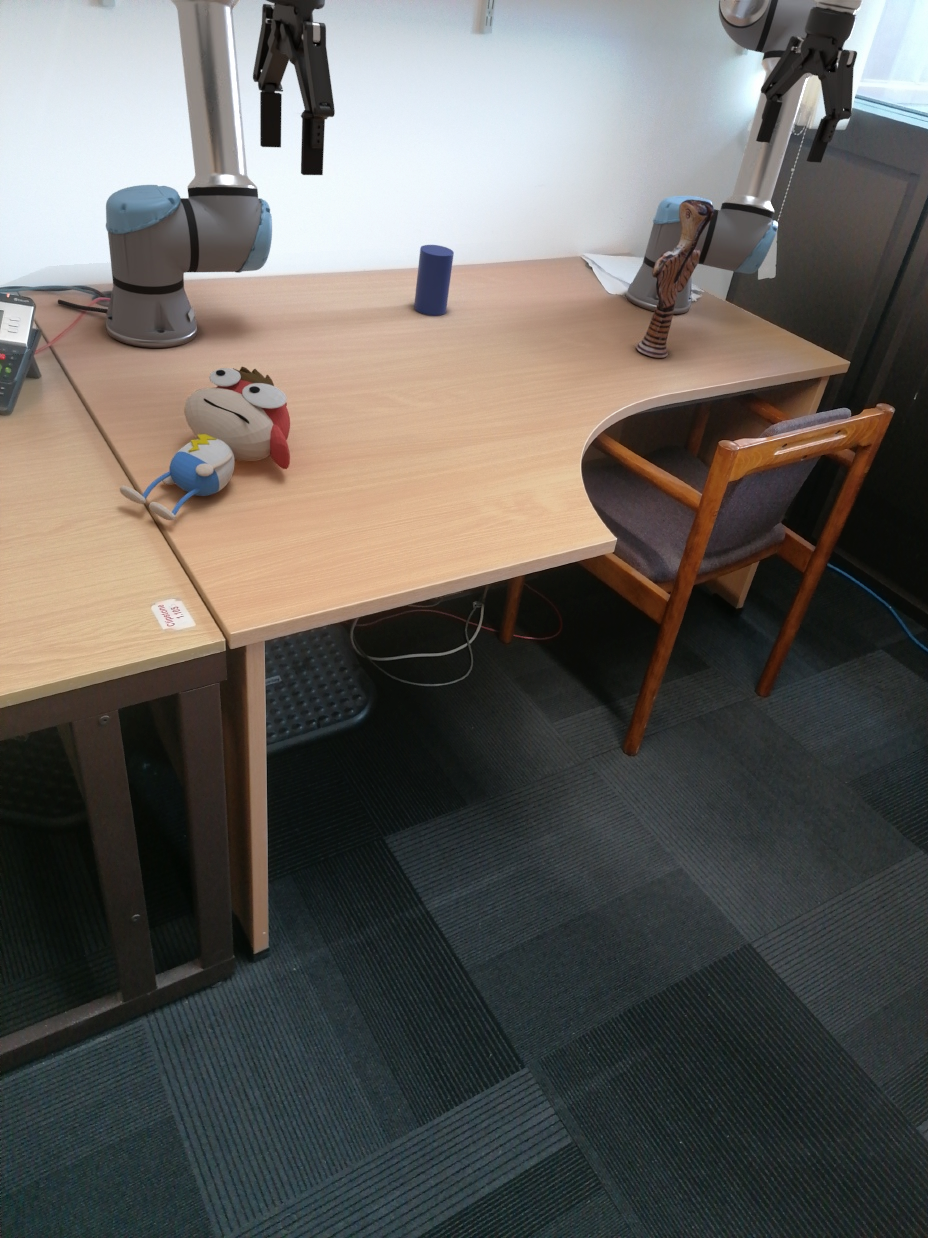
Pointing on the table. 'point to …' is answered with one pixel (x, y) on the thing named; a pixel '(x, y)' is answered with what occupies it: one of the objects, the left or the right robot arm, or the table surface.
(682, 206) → the figurine
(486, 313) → the table surface
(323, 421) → the table surface
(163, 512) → the toy
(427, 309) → the canister
